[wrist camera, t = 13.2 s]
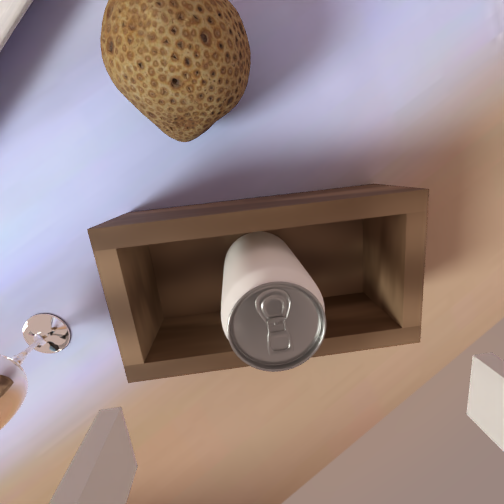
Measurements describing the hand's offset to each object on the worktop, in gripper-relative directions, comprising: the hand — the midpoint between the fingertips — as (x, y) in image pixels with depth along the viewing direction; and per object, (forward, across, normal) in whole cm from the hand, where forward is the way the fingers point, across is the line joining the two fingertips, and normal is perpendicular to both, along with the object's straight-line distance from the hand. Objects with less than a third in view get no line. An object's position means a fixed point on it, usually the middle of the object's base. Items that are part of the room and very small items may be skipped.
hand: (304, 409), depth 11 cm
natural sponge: (+19, +4, -16) cm, 25 cm away
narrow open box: (+19, 0, 0) cm, 19 cm away
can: (+18, 0, 0) cm, 18 cm away
